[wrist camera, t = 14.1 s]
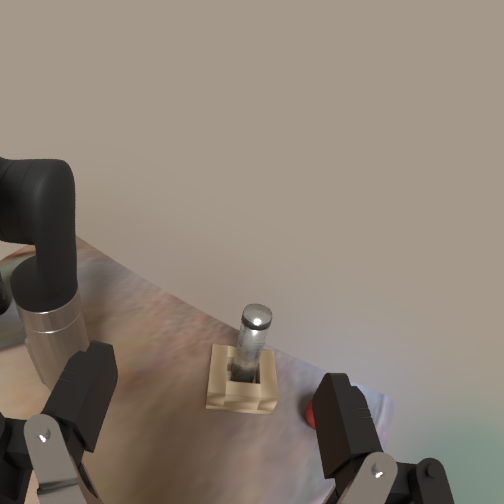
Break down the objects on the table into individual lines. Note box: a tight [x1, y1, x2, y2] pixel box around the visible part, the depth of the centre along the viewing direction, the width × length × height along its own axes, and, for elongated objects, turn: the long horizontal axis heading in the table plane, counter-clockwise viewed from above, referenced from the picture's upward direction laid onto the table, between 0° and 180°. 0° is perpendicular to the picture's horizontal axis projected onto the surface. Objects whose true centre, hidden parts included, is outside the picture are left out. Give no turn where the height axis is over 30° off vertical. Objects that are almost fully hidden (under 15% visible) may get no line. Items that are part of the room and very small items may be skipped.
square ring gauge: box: [206, 344, 278, 414], centre depth 43 cm, size 10×10×4 cm
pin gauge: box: [229, 304, 272, 383], centre depth 40 cm, size 4×4×15 cm
